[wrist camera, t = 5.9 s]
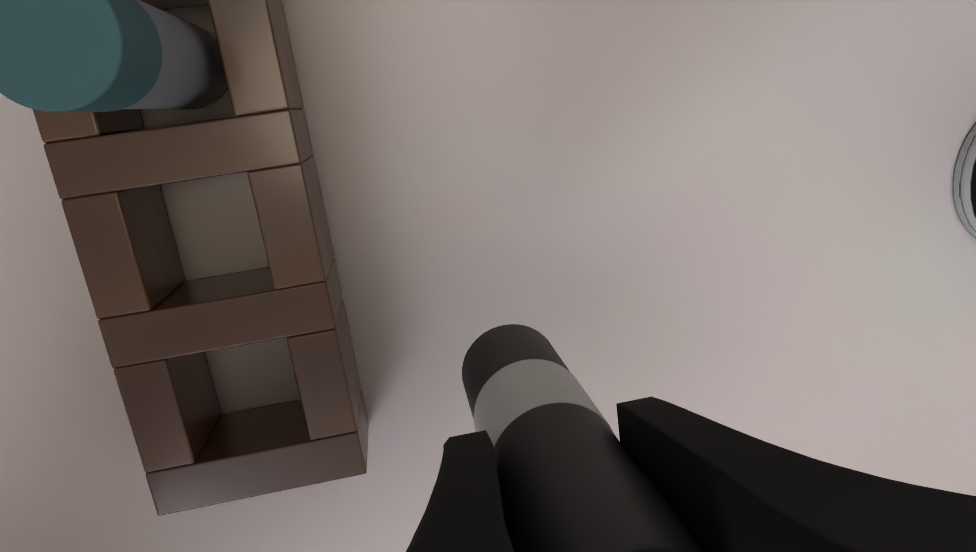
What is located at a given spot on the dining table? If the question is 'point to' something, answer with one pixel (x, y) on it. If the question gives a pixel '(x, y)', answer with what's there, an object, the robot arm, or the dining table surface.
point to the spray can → (966, 183)
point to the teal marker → (105, 57)
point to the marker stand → (215, 278)
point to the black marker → (560, 455)
